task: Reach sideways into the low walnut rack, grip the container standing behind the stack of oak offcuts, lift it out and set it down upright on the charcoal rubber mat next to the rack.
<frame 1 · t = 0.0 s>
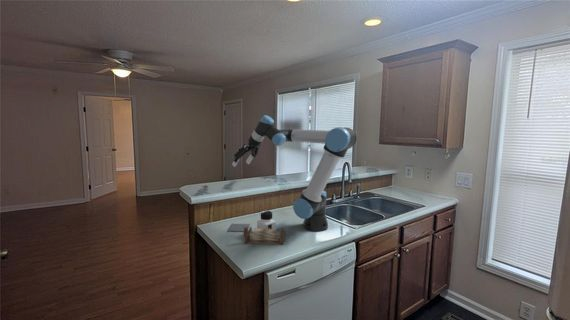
hand: (240, 164, 170), 36 cm above the table, tool tilted 35°, fingers open, 13 cm apart
walnut rack: (266, 233, 151), on the table
coffee can: (318, 209, 197), on the table
offcut stack: (264, 234, 141), point 4 cm above the table
container: (266, 234, 151), on the table
rubber mat: (239, 228, 158), on the table
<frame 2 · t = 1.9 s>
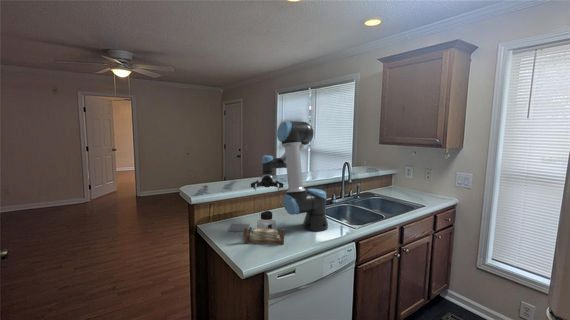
hand: (267, 188, 157), 24 cm above the table, tool horizontal, fingers open, 13 cm apart
nothing on the table moved.
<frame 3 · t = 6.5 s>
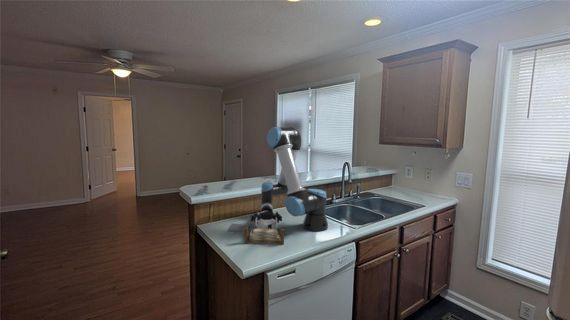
hand: (266, 223, 146), 8 cm above the table, tool horizontal, fingers closed on container, 10 cm apart
container: (266, 234, 151), on the table, touching gripper
everything else where it was.
when the fingers open (9 cm above the table, at t = 12.8 s): container drops 1 cm, resting on rubber mat.
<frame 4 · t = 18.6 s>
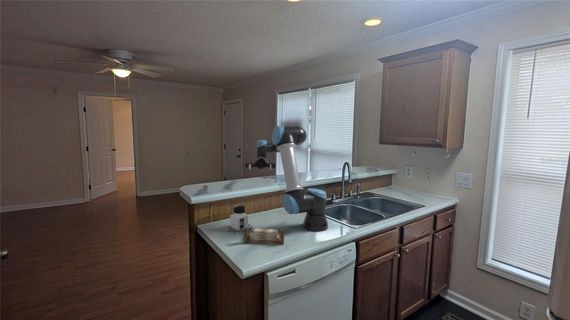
hand: (260, 167, 170), 34 cm above the table, tool horizontal, fingers open, 13 cm apart
container: (239, 227, 158), resting on rubber mat
everything else where it was.
at the end: container inside the target area on the rubber mat (0.1 cm from its centre), point 0.3 cm above the rubber mat's base; container tilted 0°; the gripper is holding nothing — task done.
